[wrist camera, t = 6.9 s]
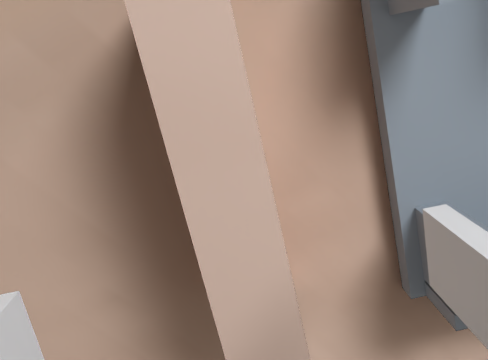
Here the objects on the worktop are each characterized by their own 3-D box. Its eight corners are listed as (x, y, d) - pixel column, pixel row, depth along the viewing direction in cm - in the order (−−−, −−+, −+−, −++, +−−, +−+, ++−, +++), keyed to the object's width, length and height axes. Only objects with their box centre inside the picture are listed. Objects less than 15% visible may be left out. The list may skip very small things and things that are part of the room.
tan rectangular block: (230, 298, 32) (234, 391, 23) (148, -9, 26) (112, -39, 18) (287, 285, 32) (313, 373, 23) (217, -26, 26) (215, -64, 18)
